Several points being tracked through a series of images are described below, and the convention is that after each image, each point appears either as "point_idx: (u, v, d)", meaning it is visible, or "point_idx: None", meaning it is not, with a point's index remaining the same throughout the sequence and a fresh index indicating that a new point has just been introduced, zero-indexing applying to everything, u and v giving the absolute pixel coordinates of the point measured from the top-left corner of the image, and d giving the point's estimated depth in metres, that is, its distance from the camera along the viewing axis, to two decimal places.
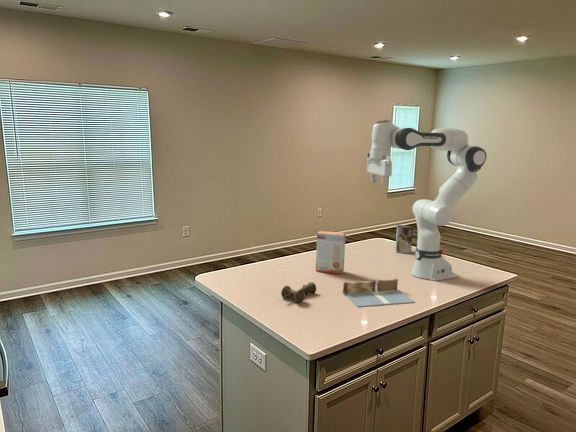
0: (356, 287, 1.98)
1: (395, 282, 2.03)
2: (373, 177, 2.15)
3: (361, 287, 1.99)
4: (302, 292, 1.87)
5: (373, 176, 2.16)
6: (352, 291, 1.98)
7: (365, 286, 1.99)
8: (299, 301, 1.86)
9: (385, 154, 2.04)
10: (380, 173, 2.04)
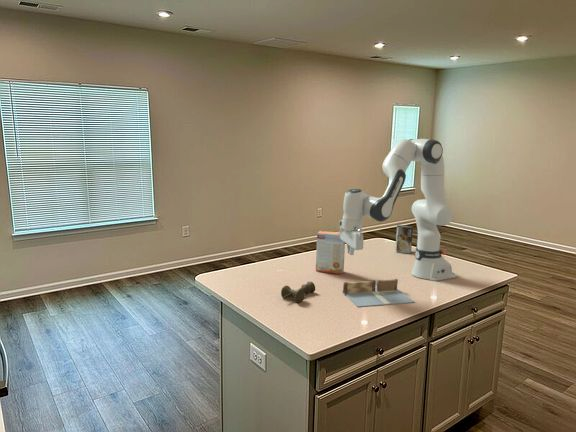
0: (356, 287, 1.98)
1: (395, 282, 2.03)
2: (349, 247, 2.02)
3: (361, 287, 1.99)
4: (303, 292, 1.88)
5: (349, 246, 2.03)
6: (352, 291, 1.98)
7: (365, 286, 1.99)
8: (299, 301, 1.87)
9: (357, 225, 1.95)
10: (352, 245, 1.95)
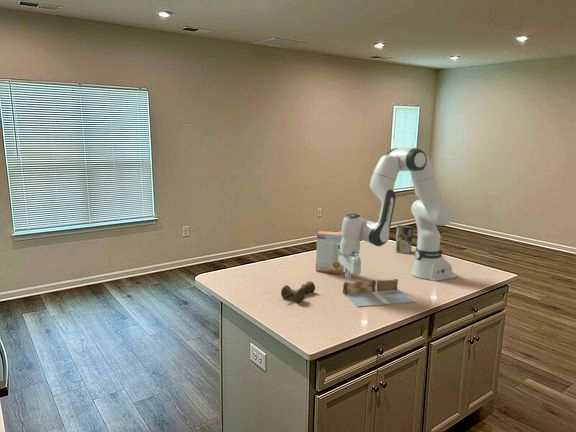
0: (356, 287, 1.98)
1: (395, 282, 2.03)
2: (347, 271, 2.04)
3: (361, 287, 1.99)
4: (303, 292, 1.88)
5: (347, 270, 2.05)
6: (352, 291, 1.98)
7: (365, 286, 1.99)
8: (299, 300, 1.87)
9: (355, 250, 1.97)
10: (349, 269, 1.97)
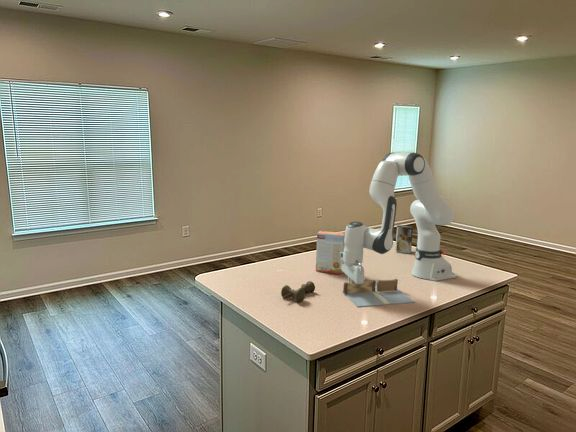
0: (356, 287, 1.98)
1: (395, 282, 2.03)
2: (350, 280, 2.01)
3: (361, 287, 1.99)
4: (303, 292, 1.88)
5: (350, 279, 2.01)
6: (352, 291, 1.98)
7: (365, 286, 1.99)
8: (299, 300, 1.87)
9: (358, 259, 1.94)
10: (352, 279, 1.94)
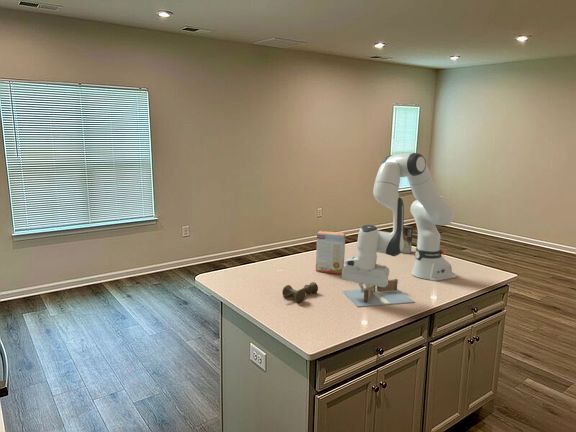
0: (370, 292, 1.93)
1: (395, 282, 2.03)
2: (362, 286, 1.93)
3: (371, 291, 1.95)
4: (303, 292, 1.88)
5: (361, 285, 1.93)
6: (369, 297, 1.92)
7: (372, 288, 1.97)
8: (299, 301, 1.87)
9: None
10: (375, 283, 1.88)
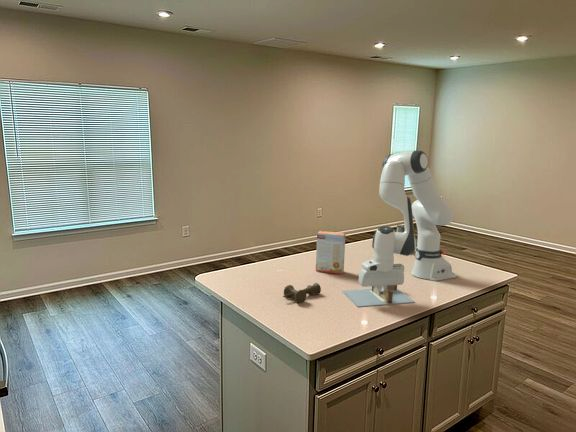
0: None
1: None
2: None
3: None
4: (303, 293, 1.87)
5: None
6: None
7: None
8: (299, 301, 1.86)
9: None
10: (394, 283, 1.90)
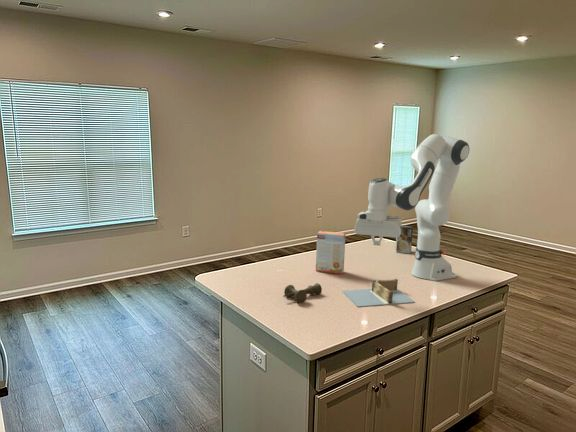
0: None
1: (395, 282, 2.03)
2: (374, 239, 1.97)
3: None
4: (304, 293, 1.87)
5: (373, 238, 1.97)
6: None
7: None
8: (299, 301, 1.87)
9: (387, 214, 1.93)
10: (389, 234, 1.92)
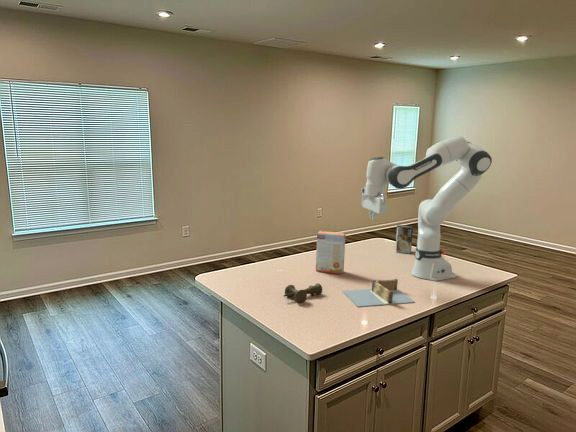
0: None
1: (395, 282, 2.03)
2: (371, 214, 2.10)
3: None
4: (304, 293, 1.87)
5: (371, 213, 2.10)
6: None
7: None
8: (299, 301, 1.87)
9: (380, 191, 2.03)
10: (375, 210, 2.03)
